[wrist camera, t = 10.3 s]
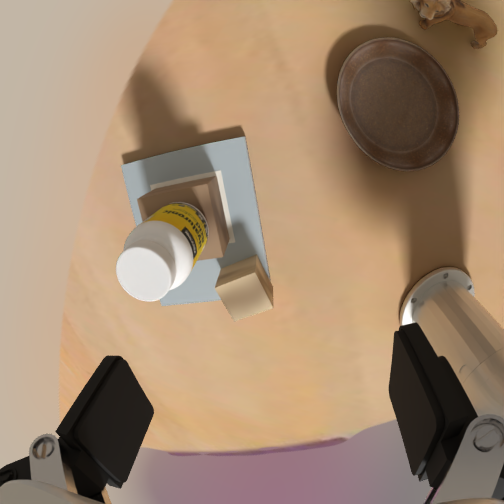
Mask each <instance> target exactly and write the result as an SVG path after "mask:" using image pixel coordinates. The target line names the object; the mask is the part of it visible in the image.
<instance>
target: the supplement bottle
mask: <svg viewBox="0 0 504 504" xmlns="http://www.w3.org/2000/svg"><path fill="white" fill-rule="evenodd" d="M208 234H209V229H208V224H207V221H206V219H205V217H204V215H203V214H202V213H201V212H200V211H199V210H198V209H197V208H196V207H194V206H193V205H190V204H188V203H184V202H174V203H170V204H168V205H166V206H164V207H162V208H161V209H159V210H158V211H157V212H155V213H154V214H153V215H151V216H150V217H149V218H147V219H146V220H145V221H143V222H142V223H141V224H139V225H138V226H137V227H136V228H135V229H134V230H133V231H132V232H131V233H130V234H129V236H128V237H127V239H126V242H125V245H124V251H123V252H122V253H121V254H120V256H119V258H118V260H117V263H116V274H117V277H118V280H119V282H120V284H121V286H122V287H123V288H124V290H125V291H126V292H127V293H128V294H130V295H131V296H133V297H134V298H136V299H139V300H142V301H156V300H159V299H161V298H162V297H164V296H165V295H166V294H167V292H168V291H169V290H172V289H174V288H176V287H178V286H180V285H181V284H182V283H183V282H184V281H185V280H186V278H187V277H188V276H189V274H190V272H191V271H192V269H193V267H194V265H195V263H196V261H197V260H198V258H199V256H200V254H201V252H202V251H203V249H204V247H205V245H206V242H207V239H208Z"/></svg>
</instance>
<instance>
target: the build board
mask: <svg viewBox="0 0 504 504" xmlns="http://www.w3.org/2000/svg"><path fill="white" fill-rule="evenodd" d="M121 167H122V172H123V176H124V180H125V184H126V188H127V192H128V196H129V200H130V204H131V208H132V212H133V215H134V219H135V223H136V226H138V225H139V224H141V223H142V222H143V221H142V218H141V214H140V210H139V206H138V202H137V199H138V198H139V197H141V196H143V195H145V194H146V193H148V192H150V191H152V190H154V189H156V188H160V187H165V186H169V185H174V184H178V183H183V182H188V181H193V180H198V179H203V178H208V177H213V176H217V180H218V185H219V190H220V194H221V199H222V204H223V209H224V214H225V219H226V224H227V228H228V233H229V238H230V239H229V242H228V245H227V248H226V251H225V254H224V256H223V257H221V258H214V259H206V260H199V261H196V263H195V265H194V267H193V269H192V271H191V272H190V274H189V276H188V277H187V278H186V280H185V281H184V282H183V283H182V284H181V285H180V286H178V287H176V288H174V289H172V290H169V291H168V292H167V294H166V295H165V296H164V297H162V298H161V299H160V302H161V305H162V306H167V305H178V304H188V303H198V302H208V301H217V300H221V298H220V297H219V295H218V293H217V292H216V290H215V285H216V282H217V279H218V276H219V273H220V270H221V269H222V268H224V267H226V266H229V265H231V264H234V263H236V262H239V261H241V260H244V259H246V258H249V257H251V256H254V255H256V254H257V255H258V257H259V260H260V262H261V264H262V266H263V268H264V270H265V272H266V274H267V276H268V278H269V280H270V275H269V269H268V263H267V257H266V251H265V245H264V239H263V233H262V227H261V221H260V216H259V210H258V204H257V198H256V193H255V187H254V181H253V176H252V170H251V165H250V159H249V153H248V148H247V142H246V137H239V138H234V139H228V140H223V141H218V142H213V143H208V144H203V145H199V146H194V147H190V148H185V149H181V150H177V151H173V152H169V153H165V154H161V155H157V156H153V157H149V158H146V159H142V160H138V161H135V162H131V163H128V164H124V165H121ZM270 282H271V281H270Z"/></svg>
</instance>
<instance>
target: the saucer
mask: <svg viewBox="0 0 504 504" xmlns="http://www.w3.org/2000/svg"><path fill="white" fill-rule="evenodd" d="M337 102H338V108H339V112H340V115H341V118H342V121H343V123H344V125H345V127H346V129H347V131H348V133H349V134H350V136H351V138H352V139H353V141H354V142H355V143H356V144H357V146H358V147H359V148H360V149H361V150H362V151H363V152H364V153H365V154H366V155H367V156H369V157H370V158H371V159H373V160H374V161H376V162H378V163H379V164H381V165H383V166H386V167H388V168H391V169H395V170H399V171H416V170H421V169H424V168H427V167H429V166H431V165H433V164H435V163H436V162H437V161H439V160H440V159H441V158H442V157H443V156H444V155H445V154H446V153H447V151H448V150H449V148H450V147H451V145H452V143H453V141H454V139H455V136H456V133H457V130H458V124H459V107H458V100H457V96H456V92H455V90H454V87H453V84H452V82H451V80H450V78H449V76H448V75H447V73H446V72H445V70H444V69H443V67H442V66H441V65H440V64H439V62H438V61H437V60H436V59H435V58H434V57H433V56H432V55H430V54H429V53H428V52H427V51H425V50H424V49H422V48H421V47H419V46H417V45H416V44H414V43H411V42H409V41H406V40H403V39H398V38H391V37H384V38H376V39H372V40H369V41H367V42H365V43H363V44H361V45H360V46H358V47H357V48H355V49H354V50H353V51H352V52H351V53H350V54H349V56H348V57H347V58H346V60H345V62H344V63H343V65H342V68H341V70H340V73H339V77H338V82H337Z"/></svg>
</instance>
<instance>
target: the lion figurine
mask: <svg viewBox="0 0 504 504" xmlns="http://www.w3.org/2000/svg"><path fill="white" fill-rule="evenodd" d="M410 2H412V4H413V7H414V9H416V10H419V14H420V16H421V17H423V18H427V19H425V20H421V21H420V23H419V24H420V26H421V27H422V28H423V29H424V30H425V29H427V28H429V27H431V26H432V25H433V24H436V23H440V22H442V21H444V20H446V19H448V20H450V21H452V22H454V23H457V24H460V25H463V26H469V27H472V28H473V30H474V35H475V38H476V40H477V41H478V42H476V41H472V42H471V44H472V47H473V48H474V49H479V48H482V47H484V46H486V44H487V43H486V41H487V40H488V39H490V38H492V37H494V36H495V35H496V34H497V27H496V25H495V23H494V21H493V20H492V19H491V17H490V16H489V15H488V14H487V13H485V12H484V11H481V10H479V9H476V8H474V7H472V6H470V5H468V4H466V3H464V2H462V1H460V0H410Z"/></svg>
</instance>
